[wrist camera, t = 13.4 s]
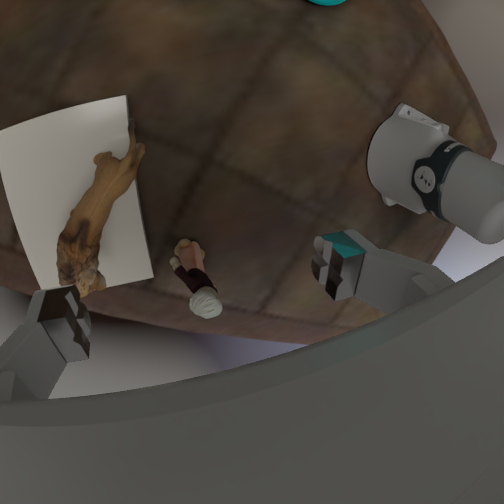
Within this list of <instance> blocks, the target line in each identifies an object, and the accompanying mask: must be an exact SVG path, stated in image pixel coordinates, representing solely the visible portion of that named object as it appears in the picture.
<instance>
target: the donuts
mask: <svg viewBox="0 0 504 504" xmlns="http://www.w3.org/2000/svg"><path fill="white" fill-rule="evenodd" d="M308 1H311V2H313V3H316V4H319V5H326V6H331V5H337V4H340V3H342V2H344V1H345V0H308Z"/></svg>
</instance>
